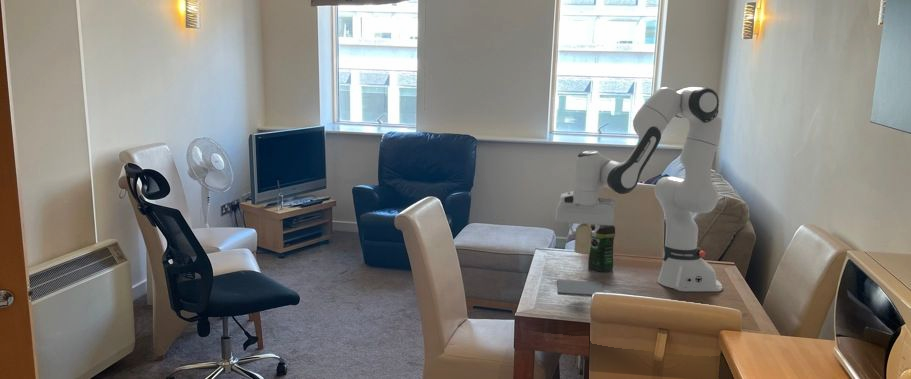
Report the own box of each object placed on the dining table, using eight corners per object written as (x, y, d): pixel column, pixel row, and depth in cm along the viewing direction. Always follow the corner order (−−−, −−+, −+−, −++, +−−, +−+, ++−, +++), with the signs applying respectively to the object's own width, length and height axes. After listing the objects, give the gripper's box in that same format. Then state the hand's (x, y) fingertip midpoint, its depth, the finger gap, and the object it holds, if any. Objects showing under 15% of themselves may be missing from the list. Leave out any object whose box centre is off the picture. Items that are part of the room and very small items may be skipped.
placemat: (601, 283, 254) (601, 282, 254) (604, 296, 240) (604, 295, 240) (557, 281, 256) (557, 279, 255) (558, 293, 242) (558, 292, 242)
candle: (590, 254, 242) (592, 226, 240) (574, 253, 243) (576, 225, 241) (590, 250, 247) (592, 223, 246) (574, 249, 248) (576, 222, 246)
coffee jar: (616, 271, 270) (619, 224, 266) (600, 273, 266) (603, 226, 263) (600, 264, 278) (603, 219, 275) (584, 266, 274) (587, 220, 271)
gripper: (615, 197, 243) (612, 235, 246) (556, 194, 246) (554, 232, 248) (617, 200, 237) (614, 239, 240) (556, 197, 240) (554, 236, 242)
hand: (583, 235), depth 244 cm, fingers closed on candle, 5 cm apart
